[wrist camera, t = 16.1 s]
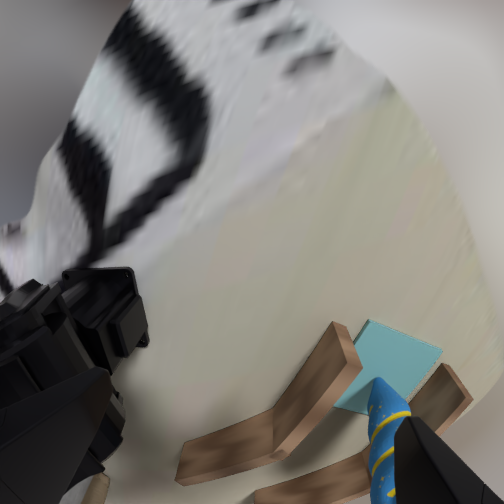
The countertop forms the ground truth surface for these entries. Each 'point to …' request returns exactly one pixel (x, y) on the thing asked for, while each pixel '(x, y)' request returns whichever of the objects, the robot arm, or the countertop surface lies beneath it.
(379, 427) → the ornament
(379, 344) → the pad
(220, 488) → the countertop surface
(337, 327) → the channel
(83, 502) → the handle
